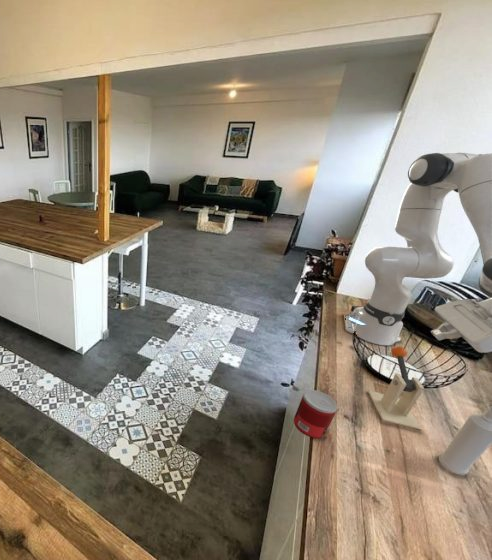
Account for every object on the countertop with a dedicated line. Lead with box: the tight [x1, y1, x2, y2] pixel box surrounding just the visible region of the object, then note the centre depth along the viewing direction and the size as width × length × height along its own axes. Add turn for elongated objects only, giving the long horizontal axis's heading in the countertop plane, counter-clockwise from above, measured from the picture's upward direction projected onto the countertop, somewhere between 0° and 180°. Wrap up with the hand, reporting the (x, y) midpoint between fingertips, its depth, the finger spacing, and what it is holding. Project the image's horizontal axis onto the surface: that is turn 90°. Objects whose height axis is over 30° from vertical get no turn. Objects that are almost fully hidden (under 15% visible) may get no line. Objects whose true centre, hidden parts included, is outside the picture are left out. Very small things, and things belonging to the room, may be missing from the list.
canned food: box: [293, 389, 338, 439], centre depth 88 cm, size 8×8×11 cm
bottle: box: [438, 405, 492, 476], centre depth 74 cm, size 5×5×25 cm
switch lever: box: [390, 346, 415, 392], centre depth 94 cm, size 14×4×4 cm, turn 158°
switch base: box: [367, 373, 425, 431], centre depth 92 cm, size 12×9×13 cm
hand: (434, 335), depth 91 cm, fingers closed
